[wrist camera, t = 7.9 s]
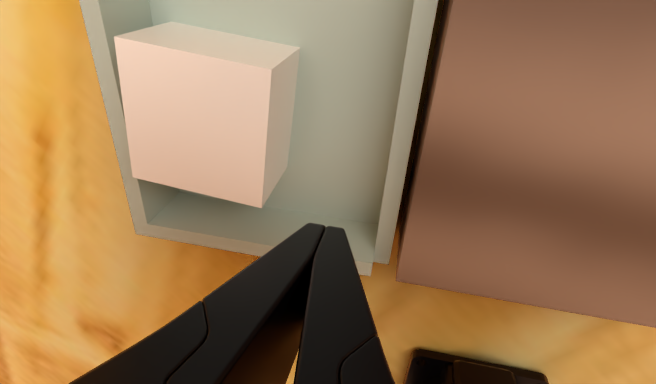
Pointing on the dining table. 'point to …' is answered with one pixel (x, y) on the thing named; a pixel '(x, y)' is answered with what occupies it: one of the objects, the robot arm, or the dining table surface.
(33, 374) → the dining table surface
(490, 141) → the plate
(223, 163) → the pale pink cube
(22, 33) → the dining table surface
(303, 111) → the tray
